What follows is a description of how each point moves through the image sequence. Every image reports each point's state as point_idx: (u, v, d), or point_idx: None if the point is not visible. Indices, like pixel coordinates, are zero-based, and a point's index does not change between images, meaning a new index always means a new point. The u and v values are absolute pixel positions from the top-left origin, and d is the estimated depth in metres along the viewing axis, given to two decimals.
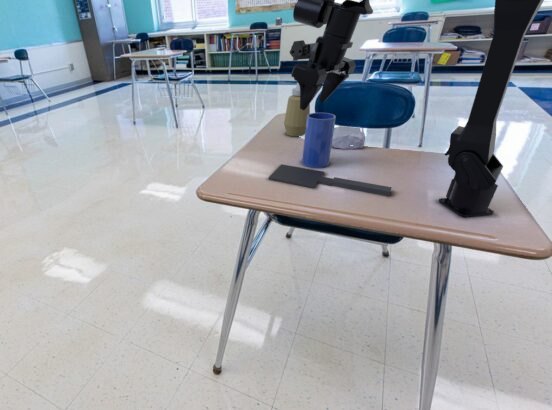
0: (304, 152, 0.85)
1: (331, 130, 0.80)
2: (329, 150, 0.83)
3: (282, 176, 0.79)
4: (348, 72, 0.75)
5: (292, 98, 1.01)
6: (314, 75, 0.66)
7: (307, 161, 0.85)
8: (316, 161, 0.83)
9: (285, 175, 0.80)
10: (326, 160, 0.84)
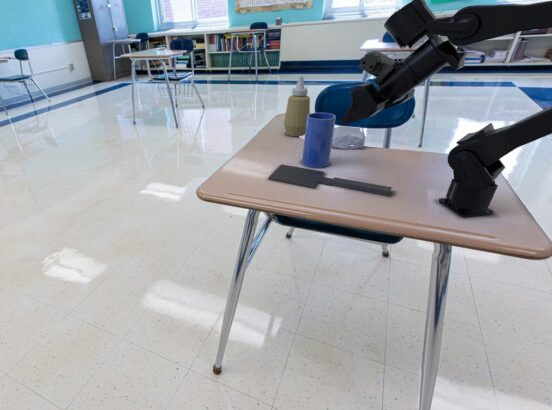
0: (304, 152, 0.85)
1: (331, 130, 0.80)
2: (329, 150, 0.83)
3: (282, 176, 0.79)
4: (403, 101, 0.71)
5: (292, 98, 1.01)
6: (372, 108, 0.62)
7: (307, 161, 0.85)
8: (316, 161, 0.83)
9: (285, 175, 0.80)
10: (326, 160, 0.84)
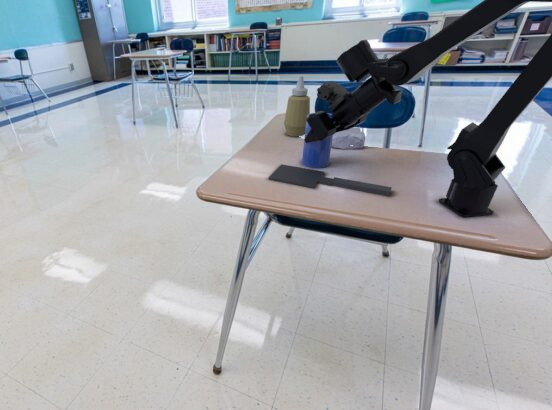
0: (304, 152, 0.85)
1: None
2: (329, 150, 0.83)
3: (282, 176, 0.79)
4: (356, 125, 0.81)
5: (292, 98, 1.01)
6: (324, 134, 0.72)
7: (307, 161, 0.85)
8: (316, 161, 0.83)
9: (285, 175, 0.80)
10: (326, 160, 0.84)
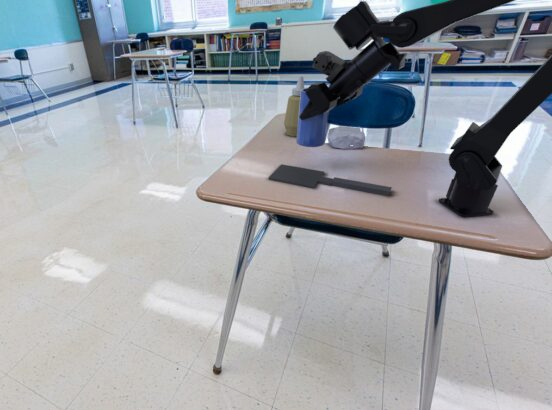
0: (299, 131, 0.79)
1: None
2: (326, 127, 0.77)
3: (282, 176, 0.79)
4: (353, 98, 0.76)
5: (292, 98, 1.01)
6: (325, 106, 0.66)
7: (303, 140, 0.79)
8: (313, 139, 0.77)
9: (285, 175, 0.80)
10: (323, 138, 0.78)
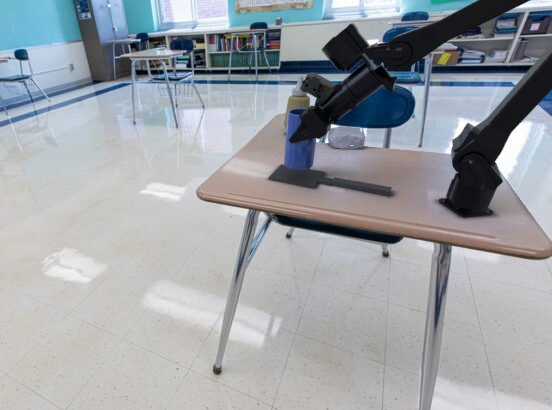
0: (288, 154, 0.76)
1: None
2: (314, 148, 0.75)
3: (282, 176, 0.79)
4: None
5: (292, 98, 1.01)
6: (323, 131, 0.63)
7: (293, 163, 0.76)
8: (303, 162, 0.75)
9: (285, 175, 0.80)
10: (312, 160, 0.76)
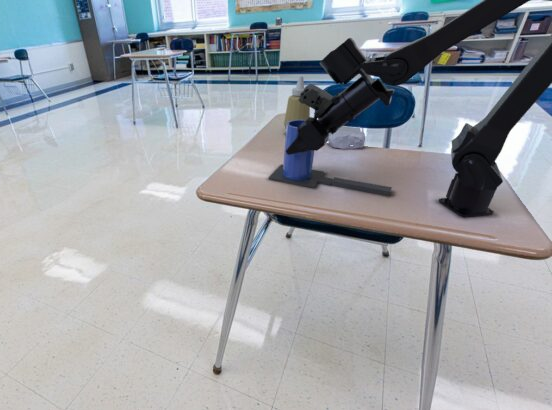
0: (287, 164, 0.77)
1: None
2: None
3: (282, 176, 0.79)
4: None
5: (292, 98, 1.01)
6: (320, 143, 0.64)
7: (291, 174, 0.77)
8: (301, 172, 0.76)
9: None
10: (310, 170, 0.77)
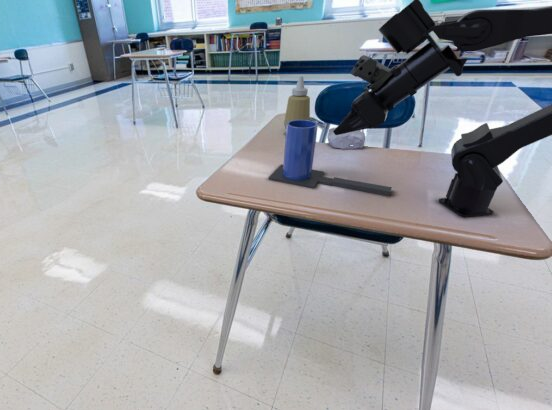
0: (287, 164, 0.77)
1: (315, 138, 0.74)
2: None
3: (282, 176, 0.79)
4: None
5: (292, 98, 1.01)
6: (380, 119, 0.57)
7: (291, 174, 0.77)
8: (301, 172, 0.76)
9: None
10: (310, 170, 0.77)
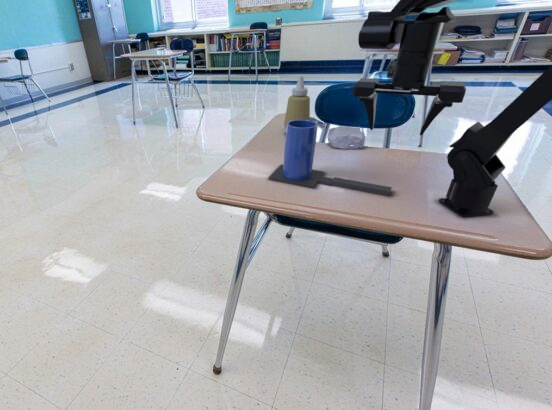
0: (287, 164, 0.77)
1: (315, 138, 0.74)
2: None
3: (282, 176, 0.79)
4: (441, 98, 0.60)
5: (292, 98, 1.01)
6: (354, 86, 0.67)
7: (291, 174, 0.77)
8: (301, 172, 0.76)
9: None
10: (310, 170, 0.77)
